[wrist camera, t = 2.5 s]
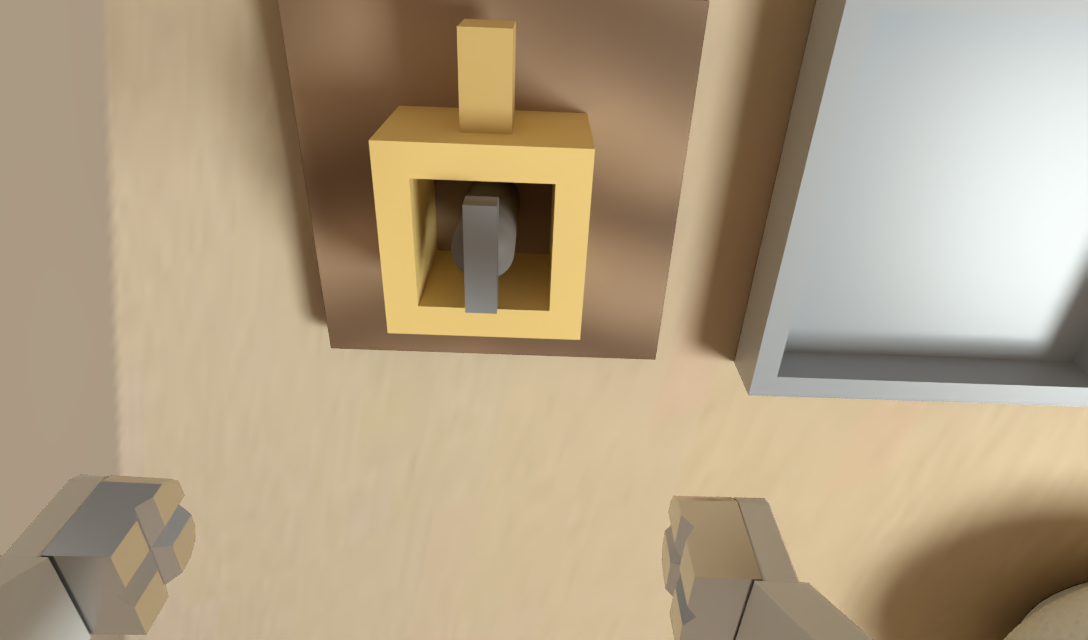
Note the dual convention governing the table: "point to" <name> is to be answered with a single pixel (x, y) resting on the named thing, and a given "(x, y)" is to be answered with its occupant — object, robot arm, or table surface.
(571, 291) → the collar
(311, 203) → the board with post
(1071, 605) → the cereal bowl
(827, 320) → the tray
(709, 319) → the table surface
